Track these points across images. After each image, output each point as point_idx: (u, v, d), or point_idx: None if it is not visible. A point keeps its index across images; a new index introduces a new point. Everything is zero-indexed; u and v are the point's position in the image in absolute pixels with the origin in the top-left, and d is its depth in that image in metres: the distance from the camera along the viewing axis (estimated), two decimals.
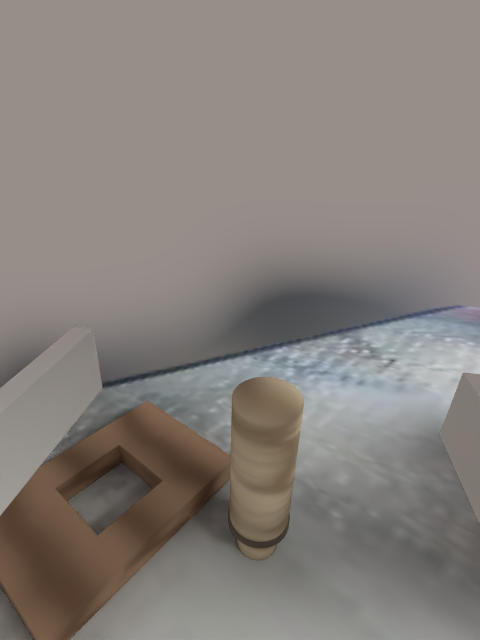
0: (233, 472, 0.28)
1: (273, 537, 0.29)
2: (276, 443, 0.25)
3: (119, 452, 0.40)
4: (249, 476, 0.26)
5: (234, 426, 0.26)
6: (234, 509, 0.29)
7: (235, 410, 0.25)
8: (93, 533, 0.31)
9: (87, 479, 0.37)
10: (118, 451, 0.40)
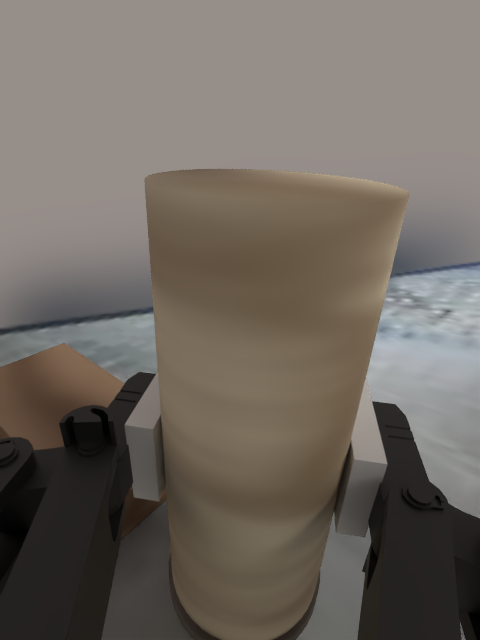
0: (165, 448, 0.09)
1: (280, 631, 0.11)
2: (311, 316, 0.06)
3: None
4: (207, 457, 0.08)
5: (153, 275, 0.07)
6: (175, 554, 0.11)
7: (149, 197, 0.06)
8: None
9: None
10: None
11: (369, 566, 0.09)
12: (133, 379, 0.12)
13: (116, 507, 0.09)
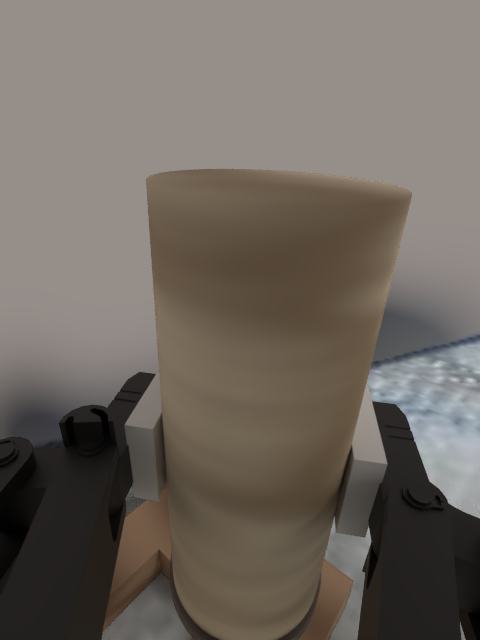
0: (166, 449, 0.09)
1: (281, 632, 0.11)
2: (314, 318, 0.06)
3: (158, 560, 0.24)
4: (209, 458, 0.08)
5: (155, 276, 0.07)
6: (177, 555, 0.11)
7: (150, 197, 0.06)
8: None
9: (108, 616, 0.22)
10: (157, 559, 0.24)
11: (369, 566, 0.09)
12: (133, 379, 0.12)
13: (116, 507, 0.09)
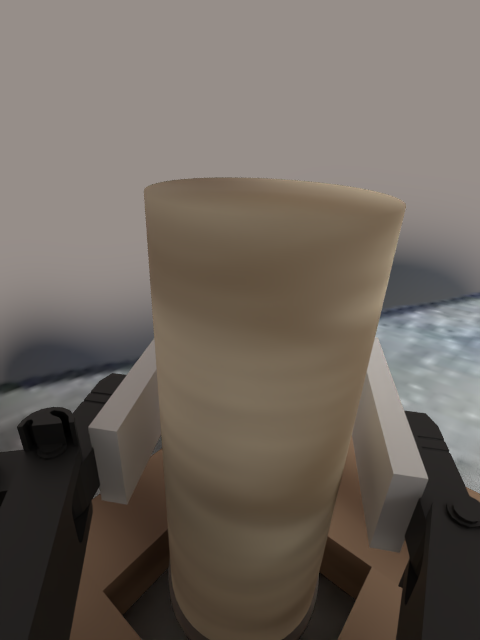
0: (164, 455, 0.09)
1: (278, 636, 0.11)
2: (309, 328, 0.06)
3: None
4: (207, 465, 0.08)
5: (152, 285, 0.07)
6: (175, 559, 0.11)
7: (148, 208, 0.07)
8: None
9: None
10: None
11: (407, 582, 0.08)
12: (106, 380, 0.12)
13: (80, 511, 0.09)
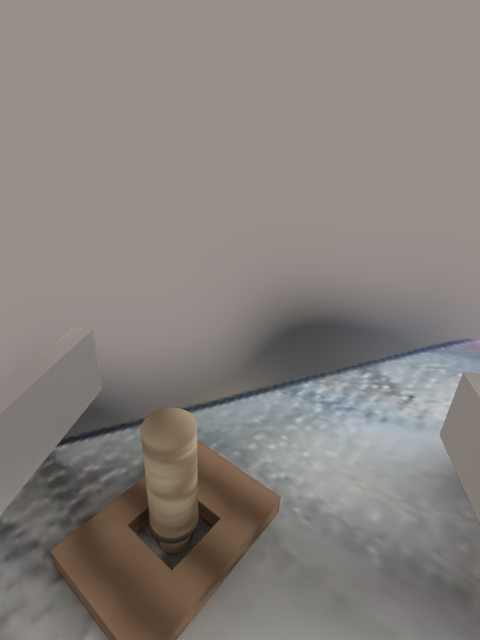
0: (146, 482, 0.35)
1: (180, 534, 0.37)
2: (171, 461, 0.32)
3: None
4: (155, 486, 0.34)
5: None
6: (149, 511, 0.37)
7: (141, 435, 0.33)
8: (168, 568, 0.35)
9: None
10: None
11: None
12: None
13: None
